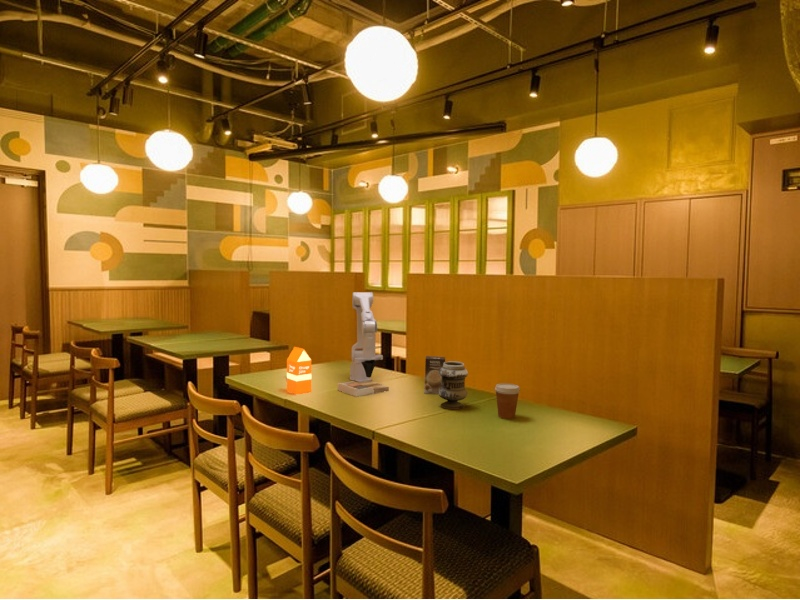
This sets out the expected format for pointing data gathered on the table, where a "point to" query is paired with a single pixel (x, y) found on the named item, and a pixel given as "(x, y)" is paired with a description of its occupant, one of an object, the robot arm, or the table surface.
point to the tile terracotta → (354, 385)
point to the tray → (354, 389)
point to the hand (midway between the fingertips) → (368, 376)
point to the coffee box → (433, 374)
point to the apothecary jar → (453, 384)
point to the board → (375, 386)
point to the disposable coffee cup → (507, 400)
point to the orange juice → (299, 372)
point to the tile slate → (362, 387)
